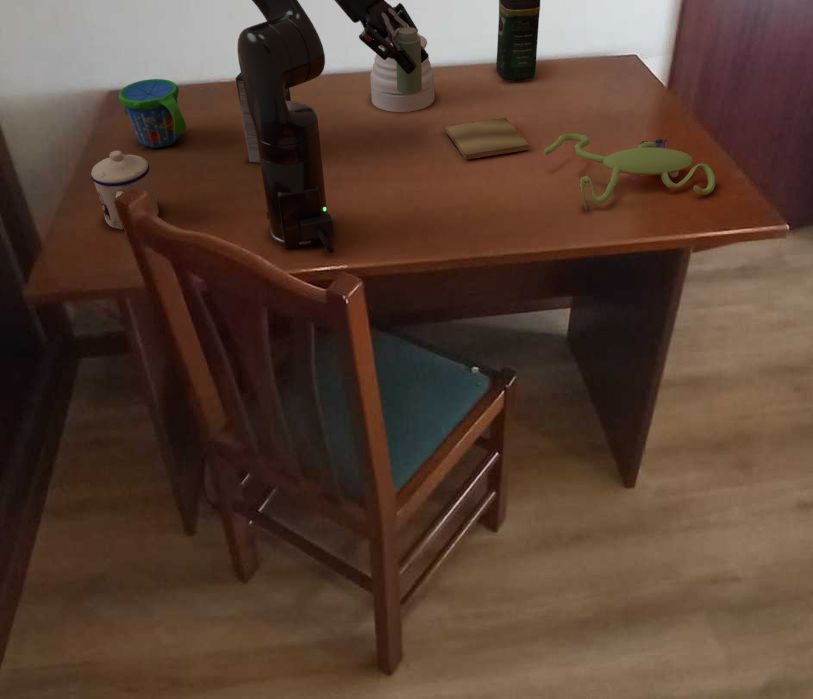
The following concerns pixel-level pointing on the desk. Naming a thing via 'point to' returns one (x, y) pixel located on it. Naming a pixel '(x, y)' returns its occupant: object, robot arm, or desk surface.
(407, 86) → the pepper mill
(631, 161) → the figurine
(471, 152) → the plate
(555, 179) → the desk surface
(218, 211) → the desk surface
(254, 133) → the coffee box
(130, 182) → the teacup with lid
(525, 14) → the coffee jar
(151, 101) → the snack cup
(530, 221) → the desk surface
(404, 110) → the honey pot
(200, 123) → the desk surface
